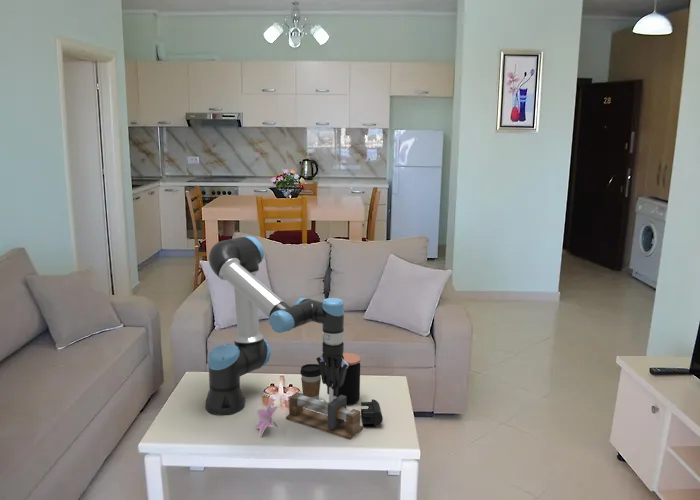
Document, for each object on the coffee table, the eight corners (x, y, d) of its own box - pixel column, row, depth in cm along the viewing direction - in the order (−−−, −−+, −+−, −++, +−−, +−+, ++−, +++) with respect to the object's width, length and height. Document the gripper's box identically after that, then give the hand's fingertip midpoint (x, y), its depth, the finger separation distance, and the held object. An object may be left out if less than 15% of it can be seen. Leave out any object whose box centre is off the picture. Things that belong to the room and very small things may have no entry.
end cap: (382, 428, 220) (383, 411, 219) (363, 428, 220) (363, 411, 218) (379, 415, 230) (379, 398, 228) (360, 415, 229) (360, 399, 228)
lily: (259, 422, 225) (248, 405, 220) (288, 411, 224) (277, 394, 219) (259, 447, 215) (246, 430, 210) (289, 436, 214) (277, 419, 209)
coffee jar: (364, 397, 244) (365, 355, 240) (352, 408, 235) (352, 365, 231) (341, 391, 249) (341, 350, 245) (328, 402, 239) (328, 359, 235)
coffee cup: (318, 407, 235) (318, 371, 231) (297, 405, 236) (297, 369, 233) (323, 398, 243) (324, 363, 240) (303, 396, 244) (303, 361, 241)
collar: (327, 427, 216) (327, 404, 214) (340, 417, 224) (341, 394, 222) (333, 429, 215) (333, 405, 213) (346, 418, 222) (346, 396, 220)
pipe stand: (285, 418, 226) (285, 398, 224) (300, 409, 233) (299, 389, 231) (349, 439, 212) (350, 418, 210) (362, 428, 219) (363, 408, 217)
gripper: (311, 341, 214) (311, 402, 219) (343, 348, 207) (342, 411, 212) (323, 335, 220) (323, 394, 225) (354, 342, 213) (353, 403, 218)
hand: (332, 403), depth 219 cm, fingers closed
